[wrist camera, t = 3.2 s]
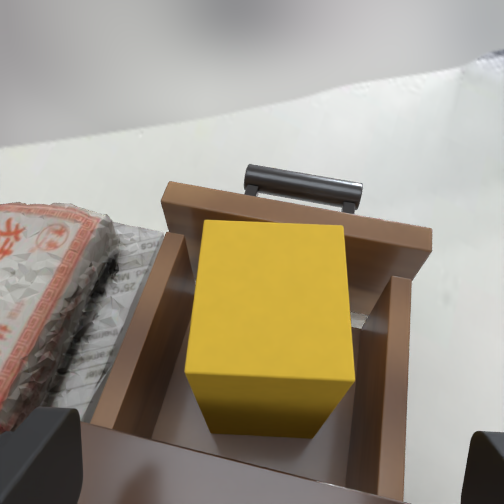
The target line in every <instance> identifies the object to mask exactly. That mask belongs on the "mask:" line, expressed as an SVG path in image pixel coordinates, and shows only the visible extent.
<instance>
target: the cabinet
mask: <svg viewBox="0 0 504 504" xmlns="http://www.w3.org/2000/svg"><path fill="white" fill-rule="evenodd" d="M80 423H81V441H82V458H83V483H82V489H81V493H80V497H79V500H78V503H77V504H410V503H406V502H402V501H398V500H394V499H390V498H386V497H382V496H378V495H374V494H370V493H366V492H362V491H358V490H354V489H350V488H346V487H342V486H338V485H334V484H330V483H326V482H322V481H318V480H314V479H310V478H306V477H302V476H298V475H294V474H290V473H286V472H282V471H278V470H274V469H270V468H266V467H262V466H258V465H254V464H250V463H246V462H242V461H238V460H234V459H230V458H226V457H222V456H218V455H214V454H210V453H206V452H202V451H198V450H194V449H190V448H186V447H182V446H178V445H174V444H170V443H166V442H162V441H158V440H154V439H150V438H146V437H142V436H138V435H134V434H130V433H126V432H122V431H118V430H114V429H110V428H106V427H102V426H98V425H94V424H90V423H86V422H82V421H80Z"/></svg>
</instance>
